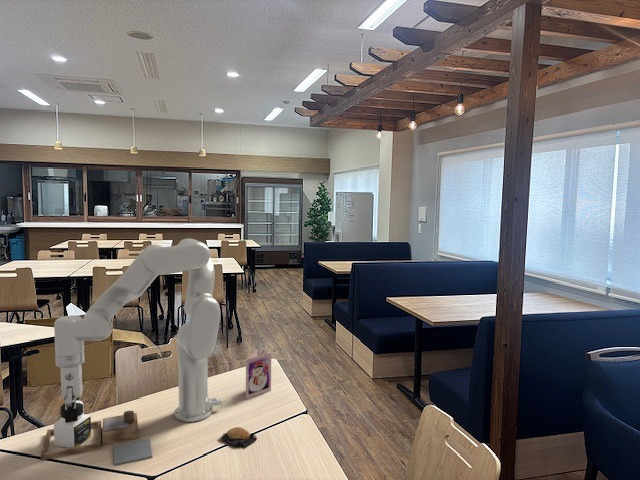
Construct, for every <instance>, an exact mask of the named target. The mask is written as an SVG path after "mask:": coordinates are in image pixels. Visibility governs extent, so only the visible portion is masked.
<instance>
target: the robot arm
mask: <svg viewBox="0 0 640 480" xmlns="http://www.w3.org/2000/svg"><path fill="white" fill-rule="evenodd" d="M186 271H187V272H188V280H187V281H188V282H187V288H186V294H185V300H184V304H183V305H184V306H183V309H184V312H185V314H186V315H187V317H188V318H189V319H190V320H189V321H188V322H186V323H184V324H182V325H181V326H180V327H179V329H178V330H177V333H176V340H175V341H176V349H177V361H178V364H177V365H178V370H177V371H178V407H176V408H175V409H174V411H173V412H174V413H173V416H174V418H176V420H178V421H181V422H185V423H188V422H189V423H190V422H191V423H193V422H197V421H198V422H199V421H201V420H205V419H207V418H208V417H210V416H211V415H212V413H213V407H214V406H215V407H217V406H222V405H223V402H222V399H221V398H220V399H217V397H212V398H210V397H209V396H208V395H209V393H208V390H209V389H208V387H209V386H208V385H209V384H208V383H209V382H208V369H209V368H208V362H209V361H208V358H209V357H210V356H211V355H212V353H214V350H215V348H216V345H217V340H218V335H219V334H218V333H219V328H220V322H221V308H220V306H221V305H220V304H219V302H218V300H216V299H215V298H214V289H215V288H214V287H215V278H216V271H215V266H214V262H213V260H212V257H211V250H210V248H209V246H207V244H205V243H204V242H203V241H202V242H201V241H200V240H197V239H194V238H184V239H181V240H180V241H179V242H178V243H177V245H172V246H171V245H169V246H161V245H158V244H150V245H148V246H146V247H144V248H143V250H142V251H141V252H140V253H139V254H138V255H137V256H136V258H135V259H134V260H133V261H132V263H130V264H129V266H128V267H127V268H126V269H125V271H124V272H123V273H122V274H121V275H120V276H119V278H117V280H115V282H113V283H112V284H111V285H110V287H108V288H107V289H106V290H105V291H104V292H103V293H102V294H101V295H100V296H98V298H97V299H96V300H95V302H93V304H92V305H91V306H90V307H89V308H88V310H87V311H86V313H84V314H85V315H84V316H83V318H82V317H81V316H80V315H65V316H64V315H63V316H61V317H59V318H56V319H55V321H54V323H53V325H54V326H53V329H54V330H53V331H54V348H55V349H54V354H55V356H54V357H55V366H56V368H57V367H58V368H60V385H61V387H60V388H61V397H62V400H63V401H65V402H64V403H65V423H69V422H74V421H77V420H78V413H77V407H76V401H80V398H82V395H83V389H84V384H83V370H82V369H83V368H82V367H83V366H82V364H83V363H85V360H86V359H85V342H86V341H87V342H100V341H103V340H106V339H108V338H109V337H110V336H111V334H112V332H113V330H114V325H113V323H112V319H113V318H114V316H115V315H117V313H118V312H119V311H120V310H121V309H122V308H123V307H124V306H125V305H126V304H128V303H129V302H132V301H133V300H137V299H138V298H140V297H141V296H142V295H143V294H144V293H145V292H146V290H147V289H148V288H149V287H150V285H151V284H152V283H153V282H154V281H155V279H156V278H157V277H158V276H164V275H165V276H166V275H173V274H177V273H183V272H186ZM72 401H74V403H73V402H72Z"/></svg>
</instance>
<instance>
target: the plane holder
mask: <svg viewBox="0 0 640 480" xmlns="http://www.w3.org/2000/svg"><path fill="white" fill-rule="evenodd" d="M137 414H138V413H137V412H135V411H134V410H126V411H124V412H123V414H121V415H117V416H110V417H104V418H102V420H96V421H91V429H93V428H97V430H96V431H97V432H96V442H95V443H94V442H93V443H90V444H83V445H80V446H78V447H73V448H65V449H64V448H63V449H59V450H54V451H49V452H48V450H49V444H50V440H51V436H54V428H51V429H50V428H49V429H47V430H46V433H45V438H44V442H43V446H42V449H41V454H40V461H45V460H51V459H55V458H62V457H65V456H66V457H67V456H70V455H71V456H72V455H76V454H81V453H86V452H91V451H96V450H101V449H102V447H101V445H102V446H105V445H109V444H110V445H111V444H114V443H121V442H125V441H131V440H135V439H139V437H140V436H139V434H140V433H139V423H138V422H139V421H138V415H137Z"/></svg>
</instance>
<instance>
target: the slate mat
mask: <svg viewBox="0 0 640 480" xmlns="http://www.w3.org/2000/svg"><path fill="white" fill-rule="evenodd" d="M152 458H154V457H153V450H152V444H151V438H149V437H148V438H145V439H139V440H136V441H131V442H130V441H129V442H126V443H119V444H115V445H113V466H119V465H123V464H124V465H125V464H127V463H133V462H137V461H141V460H142V461H143V460H146V459H147V460H148V459H152Z"/></svg>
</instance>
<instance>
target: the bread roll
mask: <svg viewBox="0 0 640 480" xmlns="http://www.w3.org/2000/svg"><path fill="white" fill-rule="evenodd" d="M257 440H258V437H257V435H255V433H253V432H251V433H250V432H249V431H248V430H247V429H245V428H244V427H238V426H236V427H233V428H230V429H228V430H227V431H226V432H224V433H223V434H222V436H220V437H219V438H217V442H219V443H221V444H224V445H227V446H229V447H233V448H237V449H242V448H243V449H247V448H248V447H250V446H251V445H253V444H255V442H257Z"/></svg>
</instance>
